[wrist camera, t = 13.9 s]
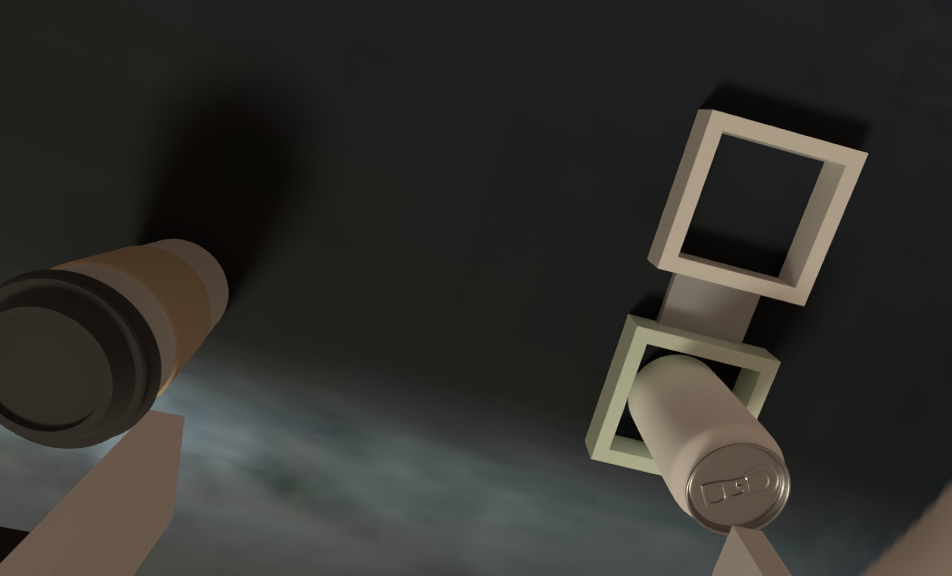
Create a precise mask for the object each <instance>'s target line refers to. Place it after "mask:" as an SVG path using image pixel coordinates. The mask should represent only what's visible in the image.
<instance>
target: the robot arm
mask: <svg viewBox="0 0 952 576" xmlns="http://www.w3.org/2000/svg"><path fill="white" fill-rule="evenodd" d="M183 426H184V416H179V415H174V414H169V413H164V412H158V411H153V410H149V411H148V412H147V413H146V415H145V416H144V417H143V418H142V419H141V420H140V421H139V422H138V423H137V424H136V425H135V426H134V427H133V428H132V429H131V430H130V431H129V432H128V433H127V434H126V435H125V436H124V437H123V438H122V439H121V440H120V441H119V442H118V443H117V444H116V445H115V446H114V447H113V448H112V449H111V450H110V451H109V452H108V453H107V455H106V456H105V457H104V458H103V459H102V460H101V461H100V462H99V463H98V464H97V465H96V466H95V467H94V468H93V469H92V470H91V471H90V472H89V473H88V474H87V475H86V476H85V477H84V478H83V479H82V480H81V481H80V482H79V483H78V484H77V485H76V486H75V487H74V488H73V489H72V490H71V491H70V492H69V493H68V495H67V496H66V497H65V498H64V499H63V500H62V501H61V502H60V503H59V504H58V505H57V506H56V507H55V508H54V509H53V510H52V511H51V512H50V513H49V514H48V515H47V516H46V517H45V518H44V519H43V520H42V521H41V522H40V523H39V524H38V525H37V526H36V527H35V528H34V529H33V530H32V531H31V532H27V531H21V530H16V529H10V528H5V527H0V576H134V574H135V573H136V571H137V570H138V568H139V567H140V565H141V564H142V562H143V561H144V560H145V558H146V557H147V555H148V554H149V552H150V551H151V549H152V548H153V546H154V545H155V543H156V542H157V540H158V539H159V537H160V536H161V534H162V533H163V532H164V530H165V529H166V527H167V526H168V524H169V523H170V521H171V520H172V518H173V511H174V502H175V494H176V485H177V477H178V468H179V460H180V451H181V443H182V434H183ZM712 576H792V575H791V574H790V572H789V571H788V569H787V568H786V566H785V565H784V563H783V562H782V560H781V559H780V557H779V556H778V554H777V553H776V551H775V550H774V548H773V547H772V545H771V544H770V542H769V541H768V539H767V538H766V536H765V535H764V533H763V532H762V531H759V530H753V529H748V528H743V527H738V526H733V525H732V528H731V530H730V533H729V535H728V537H727V540H726V542H725V545H724V547H723V549H722V552H721V554H720V557H719V559H718V561H717V564H716V566H715V569H714V571H713V573H712Z"/></svg>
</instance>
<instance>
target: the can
mask: <svg viewBox="0 0 952 576" xmlns="http://www.w3.org/2000/svg"><path fill="white" fill-rule="evenodd" d="M628 406H629V410H630V413H631V416H632V418H633V420H634V422H635V424H636V426H637V428H638V430H639V432H640V434H641V436H642V438H643V440H644V442H645V444H646V446H647V448H648V450H649V452H650V453H651V455H652V457H653V459H654V461H655V463H656V465H657V467H658V469H659V471H660V473H661V475H662V477H663V478H664V480H665V482H666V484H667V486H668V488H669V490H670V492H671V493H672V495H673V497H674V499H675V500H676V502H677V503H678V504H679V506H680V507H681V508H682V509H683V510H684V511H685V512H686V513H688V514H689V515H690V516H692V517H693V518H694V519H695V520H696V521H697V522H698V523H699V524H700V525H701V526H703V527H704V528H706V529H708V530H710V531H712V532H714V533H718V534H722V535H729V533H730V530H731V528H732V525H733V526H738V527H743V528H748V529H753V530H759V529H761V528H763V527H764V526H766V525H767V524H769V523H770V522H771V521H773V520H774V519H775V518H776V517H777V516H778V515H779V514H780V512H781V511H782V510H783V508H784V506H785V505H786V503H787V500H788V497H789V494H790V488H791V481H790V475H789V472H788V469H787V467H786V465H785V463H784V458H783V455H782V452H781V450H780V448H779V446H778V445H777V443H776V442H775V440H774V439H773V438H772V436H771V435H770V434H769V433H768V432H767V431H766V429H765V428H764V427H763V426H762V425H761V424H760V423H759V422H758V420H757V419H756V418H755V417H754V416H753V415H752V414H751V413H750V412H749V410H748V409H747V408H746V407H745V406H744V405H743V404H742V403H741V402H740V401H739V399H738V398H737V397H736V396H735V395H734V394H733V393H732V392H731V391H730V390H729V388H728V387H727V386H726V385H725V384H724V383H723V382H722V381H721V380H720V379H719V378H718V376H717V375H716V374H715V373H714V372H713V371H712V370H711V369H710V368H709V367H708V366H707V365H706V364H704V363H703V362H701V361H700V360H698V359H696V358H693V357H690V356H686V355H668V356H664V357H660V358H658V359H656V360H654V361H652V362H650V363H649V364H647V365H646V366H645V367H643V368H642V369H641V370H640V371H639V372H638V374H637V375H636V376H635V379H634V381H633V384H632V387H631V390H630V393H629V396H628Z"/></svg>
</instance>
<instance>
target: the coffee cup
mask: <svg viewBox="0 0 952 576" xmlns="http://www.w3.org/2000/svg"><path fill="white" fill-rule="evenodd" d="M227 303H228V284H227V280H226V277H225V274H224V272H223V270H222V268H221V266H220V265H219V263H218V262H217V260H216V259H215V258H214V257H213V256H212V255H211V254H210V253H209V252H207V251H206V250H205V249H203V248H202V247H200V246H198V245H196V244H194V243H192V242H189V241H185V240H180V239H165V240H161V241H157V242H153V243H150V244H146V245H142V246H130V247H126V248H122V249H118V250H114V251H110V252H107V253H103V254H99V255H95V256H91V257H88V258H84V259H80V260H76V261H72V262H68V263H65V264H61V265H58V266H55V267H53V268H50V269H48V270H38V271H32V272H28V273H25V274H22V275H19V276H16V277H14V278H12V279H10V280H8V281H7V282H5V283H4V284H2V285H1V286H0V424H1V425H3V426H4V427H5V428H7V429H9V430H10V431H12V432H14V433H15V434H17V435H19V436H21V437H23V438H25V439H27V440H29V441H32V442H35V443H37V444H41V445H44V446H49V447H54V448H63V449H75V448H84V447H89V446H93V445H96V444H99V443H102V442H104V441H106V440H108V439H110V438H112V437H114V436H117V435H119V434H121V433H123V432H125V431H127V430H129V429H130V428H132V427H133V426H134V425H136V424H137V423H138V422H139V421H140V420H141V419H142V418H143V417H144V416H145V415H146V413H147V412H148V411H149V410H150V408H151V407H152V405H153V403H154V401H155V399H156V398H158V397H159V396H160V395H161V394H162V393H163V392H164V391H165V389H166V388H167V387H168V386H169V384H170V383H171V382H172V381H173V380H174V378H175V377H176V376H177V375H178V373H179V372H180V371H181V370H182V368H183V367H184V366H185V365H186V363H187V362H188V361H189V360H190V358H191V357H192V356H193V355H194V353H195V352H196V351H197V350H198V348H199V347H200V346H201V345H202V343H203V342H204V340H205V338H206V336H207V334H208V333H209V332H210V331H211V330H212V328H213V327H214V326H215V325H216V324H217V323H218V321H219V320H220V319H221V317H222V316H223V314H224V312H225V309H226V307H227Z"/></svg>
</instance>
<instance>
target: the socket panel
mask: <svg viewBox="0 0 952 576" xmlns="http://www.w3.org/2000/svg"><path fill="white" fill-rule="evenodd" d="M722 133H723V134H727V135H730V136H734V137H737V138H741V139H744V140H748V141H752V142H755V143H759V144H762V145H766V146H770V147H773V148H777V149H780V150H784V151H788V152H791V153H795V154H798V155H802V156H805V157H809V158H813V159H816V160H820V161H823V162H824V165H823V167H822V170H821V172H820V175H819V177H818V180H817V182H816V185H815V187H814V190H813V192H812V195H811V197H810V200H809V202H808V205H807V207H806V209H805V212H804V214H803V217H802V219H801V222H800V224H799V227H798V229H797V232H796V234H795V237H794V239H793V242H792V244H791V247H790V249H789V252H788V254H787V257H786V259H785V262H784V264H783V267H782V269H781V272H780V274H779V277H778V278H776V277H772V276H769V275H765V274H761V273H757V272H753V271H750V270H746V269H742V268H738V267H734V266H731V265H727V264H723V263H719V262H715V261H711V260H708V259H704V258H700V257H696V256H692V255H689V254H685V253H681V252H680V250H681V247H682V244H683V241H684V238H685V236H686V233H687V230H688V227H689V224H690V221H691V219H692V216H693V213H694V210H695V207H696V205H697V202H698V199H699V196H700V193H701V191H702V188H703V185H704V182H705V179H706V177H707V174H708V171H709V168H710V165H711V163H712V160H713V157H714V154H715V151H716V149H717V146H718V143H719V140H720V137H721V134H722ZM867 155H868V153H865V152H861V151H858V150H854V149H851V148H847V147H844V146H840V145H837V144H833V143H829V142H826V141H822V140H819V139H815V138H812V137H808V136H805V135H801V134H797V133H794V132H790V131H787V130H783V129H780V128H776V127H773V126H769V125H765V124H762V123H758V122H755V121H751V120H748V119H744V118H741V117H737V116H733V115H730V114H726V113H723V112H719V111H716V110H703V109H699V110H698V113H697V116H696V119H695V122H694V124H693V127H692V130H691V133H690V136H689V139H688V142H687V145H686V148H685V151H684V154H683V156H682V159H681V162H680V165H679V168H678V171H677V174H676V177H675V180H674V183H673V186H672V188H671V191H670V194H669V197H668V200H667V203H666V206H665V209H664V212H663V215H662V218H661V220H660V223H659V226H658V229H657V232H656V235H655V238H654V241H653V244H652V247H651V250H650V253H649V255H648V258H647V259H648V260H649V261H650V262H651V263H652V264H653V265H655V266H656V267H657V268H659V269H663V270H667V271H670V272H673V275H672V277H671V280H670V283H669V286H668V289H667V291H666V294H665V297H664V300H663V303H662V305H661V308H660V311H659V314H658V317H657V319H656V321H654V320H650V319H646V318H642V317H638V316H634V315H630V314H628V317H627V319H626V322H625V325H624V328H623V331H622V334H621V337H620V340H619V343H618V346H617V349H616V351H615V354H614V357H613V360H612V363H611V366H610V369H609V372H608V375H607V378H606V381H605V384H604V386H603V389H602V392H601V395H600V398H599V401H598V404H597V407H596V410H595V413H594V416H593V418H592V421H591V424H590V427H589V430H588V433H587V436H586V439H585V443H586V446H587V449H588V452H589V454H590V457H591V459H594V460H598V461H602V462H607V463H611V464H615V465H619V466H624V467H628V468H632V469H637V470H641V471H645V472H649V473H654V474H658V475H661V473H660V471H659V469H658V467H657V465H656V463H655V461H654V459H653V457H652V455H651V453H650V452H649V450H648V448H647V446H646V444H645V442H643V441H639V440H634V439H630V438H626V437H622V436H618V435H615V432H616V429H617V426H618V424H619V421H620V418H621V415H622V412H623V410H624V407H625V404H626V401H627V398H628V396H629V393H630V390H631V387H632V384H633V381H634V379H635V376H636V373H637V370H638V367H639V365H640V362H641V359H642V356H643V353H644V351H645V348H646V345H647V344H650V345H654V346H658V347H662V348H666V349H670V350H674V351H678V352H682V353H686V354H690V355H694V356H698V357H702V358H706V359H710V360H714V361H718V362H722V363H726V364H730V365H734V366H738V367H742V368H741V371H740V373H739V376H738V378H737V381H736V383H735V386H734V388H733V391H732V393H733V394H734V395H735V396H736V397H737V398H738V399H739V401H740V402H741V403H742V404H743V405H744V406H745V407H746V408H747V409H748V410H749V412H750V413H751V414H752V415H753V416H754V417H755V418H756V419H757V418H758V415H759V413H760V411H761V408H762V406H763V403H764V401H765V399H766V396H767V394H768V391H769V389H770V387H771V384H772V382H773V380H774V377H775V375H776V372H777V370H778V368H779V365H780V363H781V362H780V361H779V360H778V359H776V358H775V357H774V356H773V355H772V354H770V353H769V352H768V351H767V350H766V349H764V348H761V347H757V346H753V345H749V344H745V343H742V341H743V338H744V336H745V333H746V331H747V328H748V326H749V323H750V321H751V318H752V316H753V313H754V311H755V308H756V306H757V303H758V301H759V298H760V296H761V295H763V296H767V297H771V298H775V299H778V300H782V301H786V302H790V303H794V304H798V305H801V306H805V303H806V301H807V298H808V296H809V294H810V291H811V289H812V286H813V284H814V282H815V279H816V277H817V275H818V272H819V270H820V267H821V265H822V263H823V260H824V258H825V255H826V253H827V251H828V248H829V246H830V243H831V241H832V239H833V236H834V234H835V232H836V229H837V227H838V224H839V222H840V220H841V217H842V215H843V212H844V210H845V208H846V205H847V203H848V201H849V198H850V196H851V193H852V191H853V189H854V186H855V184H856V181H857V179H858V177H859V174H860V172H861V170H862V167H863V165H864V162H865V160H866V158H867Z"/></svg>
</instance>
